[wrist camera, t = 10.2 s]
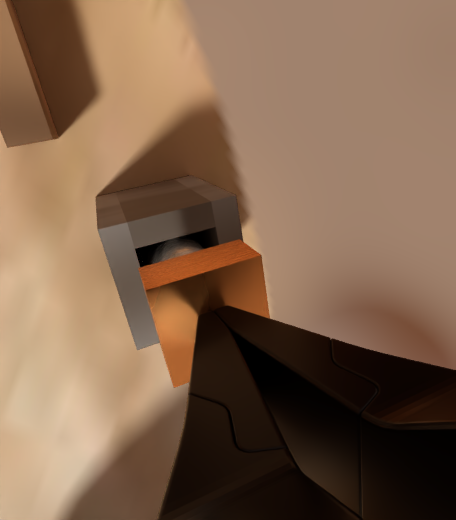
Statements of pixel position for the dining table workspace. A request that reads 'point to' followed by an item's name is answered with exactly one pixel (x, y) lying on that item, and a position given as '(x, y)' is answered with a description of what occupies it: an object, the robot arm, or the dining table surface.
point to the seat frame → (119, 203)
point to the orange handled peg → (197, 291)
